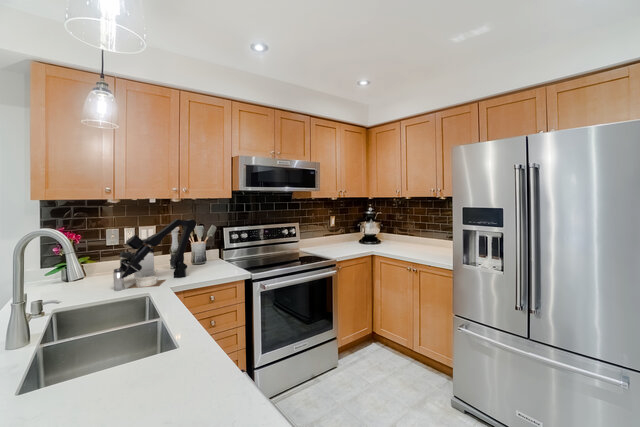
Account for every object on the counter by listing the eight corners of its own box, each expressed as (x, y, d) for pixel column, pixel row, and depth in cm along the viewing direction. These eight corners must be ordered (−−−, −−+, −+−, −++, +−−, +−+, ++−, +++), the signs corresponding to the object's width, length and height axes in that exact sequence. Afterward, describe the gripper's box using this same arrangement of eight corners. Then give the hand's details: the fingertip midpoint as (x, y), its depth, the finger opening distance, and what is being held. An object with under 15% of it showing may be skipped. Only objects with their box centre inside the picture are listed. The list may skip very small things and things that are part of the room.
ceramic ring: (159, 280, 181) (159, 276, 180) (153, 285, 170) (153, 280, 170) (140, 282, 178) (140, 277, 178) (132, 287, 168) (132, 282, 167)
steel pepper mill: (125, 289, 166) (124, 267, 165) (121, 292, 161) (120, 269, 161) (116, 290, 165) (115, 268, 164) (112, 292, 160) (111, 270, 160)
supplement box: (147, 273, 204) (146, 252, 203) (154, 275, 199) (154, 253, 199) (133, 276, 196) (133, 254, 195) (141, 278, 191) (140, 255, 191)
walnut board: (166, 280, 184) (166, 279, 184) (158, 287, 169) (158, 286, 169) (136, 282, 180) (136, 281, 180) (126, 289, 165) (126, 288, 165)
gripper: (123, 244, 173) (101, 266, 165) (134, 247, 161) (111, 270, 153) (138, 255, 179) (118, 277, 171) (150, 259, 167) (129, 282, 159)
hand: (119, 276), depth 163 cm, fingers open, 9 cm apart
